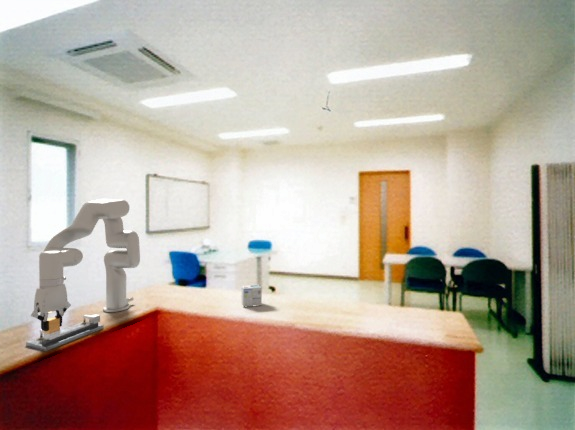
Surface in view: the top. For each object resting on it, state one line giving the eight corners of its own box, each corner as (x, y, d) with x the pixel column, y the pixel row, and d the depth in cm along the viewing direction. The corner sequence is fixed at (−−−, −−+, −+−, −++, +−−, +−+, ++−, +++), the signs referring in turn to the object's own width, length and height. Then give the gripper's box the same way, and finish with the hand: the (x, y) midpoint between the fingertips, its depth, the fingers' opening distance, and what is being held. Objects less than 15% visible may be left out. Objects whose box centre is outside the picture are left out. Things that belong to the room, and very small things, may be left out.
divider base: (84, 324, 145) (84, 311, 144) (103, 328, 140) (103, 315, 140) (26, 345, 122) (25, 330, 122) (46, 351, 118) (45, 335, 118)
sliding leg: (46, 335, 127) (45, 315, 127) (60, 338, 124) (60, 318, 124) (35, 339, 123) (35, 318, 123) (49, 342, 120) (49, 321, 120)
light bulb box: (259, 302, 181) (259, 284, 181) (261, 306, 175) (262, 287, 175) (241, 304, 178) (241, 285, 178) (243, 307, 171) (243, 288, 171)
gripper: (66, 277, 131) (67, 319, 132) (20, 286, 116) (21, 334, 116) (79, 278, 129) (79, 322, 129) (33, 288, 113) (34, 338, 113)
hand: (51, 327), depth 123 cm, fingers open, 4 cm apart
